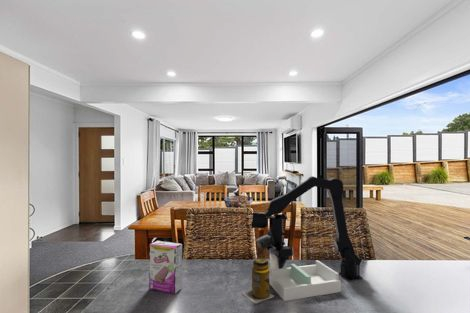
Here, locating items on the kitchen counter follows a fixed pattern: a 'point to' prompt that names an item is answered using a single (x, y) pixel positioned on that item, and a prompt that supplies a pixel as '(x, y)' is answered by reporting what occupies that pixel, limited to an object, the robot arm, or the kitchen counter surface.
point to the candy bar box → (165, 267)
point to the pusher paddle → (300, 275)
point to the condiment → (259, 281)
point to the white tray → (290, 289)
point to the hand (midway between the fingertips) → (276, 266)
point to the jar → (273, 259)
